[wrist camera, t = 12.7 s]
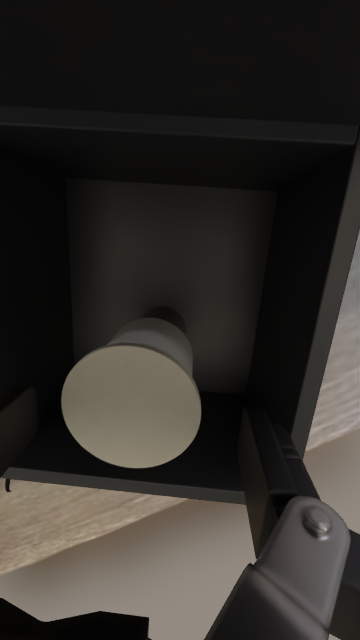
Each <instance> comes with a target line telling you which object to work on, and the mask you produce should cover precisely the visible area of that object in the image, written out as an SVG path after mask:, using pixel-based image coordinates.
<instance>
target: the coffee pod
mask: <svg viewBox="0 0 360 640" xmlns="http://www.w3.org/2000/svg"><path fill="white" fill-rule="evenodd" d="M192 371H193V353H192V348H191V345H190V343H189V341H188V339H187V337H186V336H185V335H184V333H183V332H182V331H181V330H180V329H179V328H177V327H176V326H175V325H173V324H171V323H169V322H167V321H165V320H162V319H157V318H141V319H137V320H134V321H132V322H130V323H128V324H126V325H125V326H123V327H122V328H121V329H120V330H119V331H118V332H117V334H116V335H115V336H114V337H113V338H112V339H111V341H110V342H109V343H108V344H107V345H105V346H102V347H99V348H97V349H95V350H93V351H91V352H90V353H88V354H87V355H86V356H84V357H83V358H82V359H81V360H80V361H79V362H78V363H77V364H76V365H75V366H74V367H73V369H72V370H71V371H70V373H69V375H68V376H67V378H66V380H65V383H64V386H63V390H62V398H61V405H62V412H63V417H64V420H65V422H66V425H67V427H68V429H69V430H70V432H71V434H72V435H73V437H74V438H75V439H76V440H77V441H78V443H79V444H80V445H81V446H82V447H83V448H85V449H86V450H87V451H88V452H90V453H91V454H93V455H94V456H96V457H97V458H99V459H101V460H103V461H106V462H108V463H111V464H114V465H117V466H122V467H128V468H147V467H153V466H157V465H161V464H164V463H166V462H168V461H170V460H172V459H174V458H176V457H177V456H178V455H180V454H181V453H182V452H183V451H184V450H186V449H187V447H188V446H189V445H190V444H191V443H192V441H193V439H194V438H195V436H196V434H197V431H198V429H199V425H200V421H201V399H200V395H199V391H198V388H197V386H196V383H195V381H194V380H193V378H192Z"/></svg>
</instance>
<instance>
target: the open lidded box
mask: <svg viewBox="0 0 360 640" xmlns="http://www.w3.org/2000/svg"><path fill="white" fill-rule="evenodd" d="M359 229H360V125H343V124H325V123H306V122H288V121H270V120H252V119H233V118H215V117H197V116H178V115H160V114H142V113H124V112H105V111H87V110H69V109H50V108H32V107H14V106H0V394H1V393H2V392H3V391H5V390H6V389H7V388H9V387H10V386H12V385H17V386H28V387H34V388H35V390H36V394H37V404H38V414H39V427H38V431H37V433H36V435H35V437H34V439H33V440H32V441H31V442H30V443H29V445H28V446H27V447H26V448H25V449H24V451H23V452H22V453H21V454H20V455H19V457H18V458H17V459H16V460H15V461H14V462H13V464H12V465H11V466H10V467H9V468H8V470H7V471H6V472H5V473H4V474H3V476H2V477H1V478H5V479H14V480H24V481H33V482H42V483H51V484H60V485H70V486H79V487H88V488H97V489H106V490H115V491H125V492H134V493H143V494H152V495H161V496H171V497H180V498H189V499H198V500H207V501H217V502H226V503H235V504H244V505H246V500H245V495H244V489H243V484H242V478H241V473H240V467H239V461H238V439H239V432H240V426H241V419H242V412H243V409H244V407H246V408H257V409H265V410H266V413H267V415H268V418H269V420H270V423H271V424H275V425H280V426H281V427H282V428H283V429H284V430H285V431H286V432H287V433H288V434H289V435H290V436H291V438H292V440H293V442H294V444H295V446H296V450H297V451H298V453H299V455H300V457H301V460H302V461H303V457H304V453H305V449H306V445H307V440H308V436H309V432H310V428H311V424H312V420H313V416H314V412H315V408H316V404H317V400H318V396H319V392H320V388H321V384H322V380H323V375H324V371H325V367H326V363H327V359H328V355H329V351H330V347H331V343H332V339H333V335H334V331H335V327H336V323H337V319H338V315H339V311H340V306H341V302H342V298H343V294H344V290H345V286H346V282H347V278H348V274H349V270H350V266H351V262H352V258H353V254H354V250H355V246H356V241H357V237H358V233H359ZM158 306H165V307H169V308H172V309H174V310H176V311H177V312H178V313H179V314H180V315H181V316H182V318H183V319H184V322H185V325H186V335H185V336H186V337H187V339H188V341H189V343H190V345H191V348H192V353H193V371H192V378H193V380H194V381H195V383H196V386H197V388H198V391H199V395H200V399H201V421H200V425H199V429H198V431H197V434H196V436H195V438H194V439H193V441H192V443H191V444H190V445H189V446H188V447H187V449H186V450H184V451H183V452H182V453H181V454H180V455H178V456H177V457H176V458H174V459H172V460H170V461H168V462H166V463H164V464H161V465H157V466H153V467H147V468H128V467H122V466H117V465H114V464H111V463H108V462H106V461H103V460H101V459H99V458H97V457H96V456H94V455H93V454H91V453H90V452H88V451H87V450H86V449H85V448H83V447H82V446H81V445H80V444H79V443H78V441H77V440H76V439H75V438H74V437H73V435H72V434H71V432H70V430H69V429H68V427H67V425H66V422H65V420H64V417H63V412H62V405H61V398H62V390H63V386H64V383H65V380H66V378H67V376H68V375H69V373H70V371H71V370H72V369H73V367H74V366H75V365H76V364H77V363H78V362H79V361H80V360H81V359H82V358H83V357H84V356H86V355H87V354H88V353H90V352H91V351H93V350H95V349H97V348H99V347H102V346H105V345H107V344H108V343H109V342H110V341H111V339H112V338H113V337H114V336H115V335H116V334H117V332H118V331H119V330H120V329H121V328H122V327H123V326H125V325H126V324H128V323H130V322H132V321H134V320H137V319H141V317H142V316H143V315H144V313H146V312H147V311H148V310H149V309H151V308H154V307H158Z"/></svg>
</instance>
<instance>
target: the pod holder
mask: <svg viewBox="0 0 360 640" xmlns="http://www.w3.org/2000/svg"><path fill="white" fill-rule="evenodd" d="M141 318H157V319H162V320H165V321H167V322H169V323H171V324H173V325H175V326H176V327H177V328H179V329H180V330H181V331H182V332H183V333H184V335H186V325H185V322H184V319H183V318H182V316H181V315H180V314H179V313H178V312H177V311H176V310H174V309H172V308H169V307H165V306H158V307H154V308H151V309H149V310H148V311H147V312H146V313H144V315H143V316H142V317H141Z"/></svg>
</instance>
